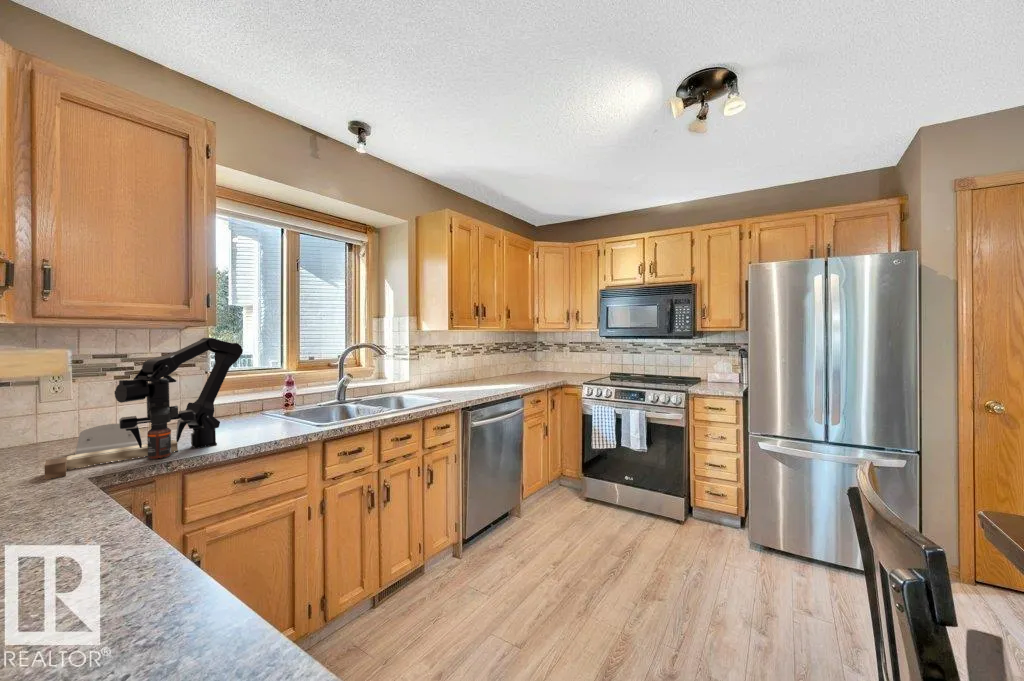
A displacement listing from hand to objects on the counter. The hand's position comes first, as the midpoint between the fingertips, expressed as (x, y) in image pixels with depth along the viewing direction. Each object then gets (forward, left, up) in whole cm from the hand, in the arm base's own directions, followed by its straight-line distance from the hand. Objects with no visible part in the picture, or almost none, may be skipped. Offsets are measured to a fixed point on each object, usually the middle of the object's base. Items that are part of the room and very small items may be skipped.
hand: (159, 444), depth 137 cm
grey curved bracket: (+11, -24, -4) cm, 27 cm away
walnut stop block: (+23, +1, -4) cm, 23 cm away
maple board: (+8, -6, -4) cm, 11 cm away
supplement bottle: (0, 0, -4) cm, 4 cm away
